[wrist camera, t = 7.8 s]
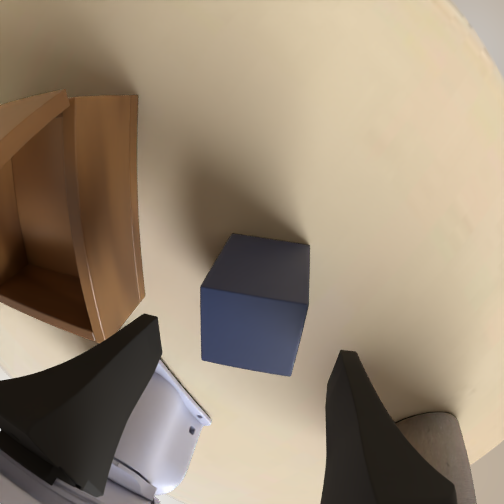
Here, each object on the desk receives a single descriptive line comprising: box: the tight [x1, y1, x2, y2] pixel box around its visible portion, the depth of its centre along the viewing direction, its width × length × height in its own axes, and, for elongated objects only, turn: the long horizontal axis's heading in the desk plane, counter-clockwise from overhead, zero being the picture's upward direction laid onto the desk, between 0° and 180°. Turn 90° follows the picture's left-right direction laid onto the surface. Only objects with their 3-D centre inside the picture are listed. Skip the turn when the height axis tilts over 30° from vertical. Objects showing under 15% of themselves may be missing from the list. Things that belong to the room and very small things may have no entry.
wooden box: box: [0, 95, 145, 343], centre depth 15 cm, size 13×12×5 cm
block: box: [200, 234, 310, 376], centre depth 15 cm, size 4×4×5 cm
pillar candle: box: [395, 412, 477, 504], centre depth 16 cm, size 10×10×15 cm
